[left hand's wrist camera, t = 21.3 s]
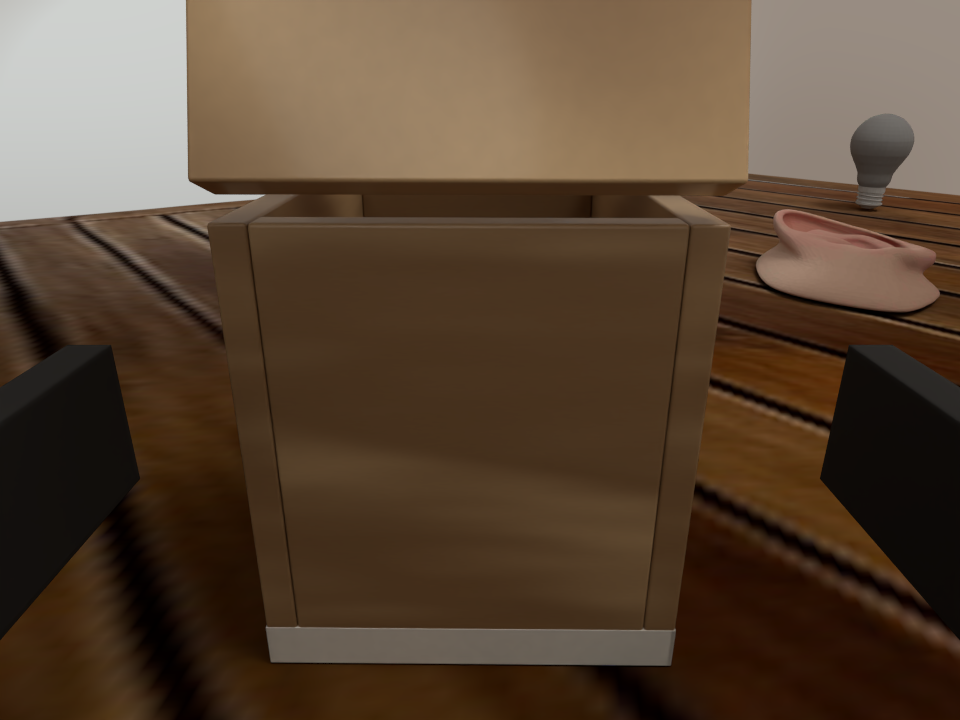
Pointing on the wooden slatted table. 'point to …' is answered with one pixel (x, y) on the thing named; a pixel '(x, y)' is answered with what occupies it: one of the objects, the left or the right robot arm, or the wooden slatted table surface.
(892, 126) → the light bulb
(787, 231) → the anatomical model
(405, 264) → the chest
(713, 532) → the wooden slatted table surface
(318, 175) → the lid
